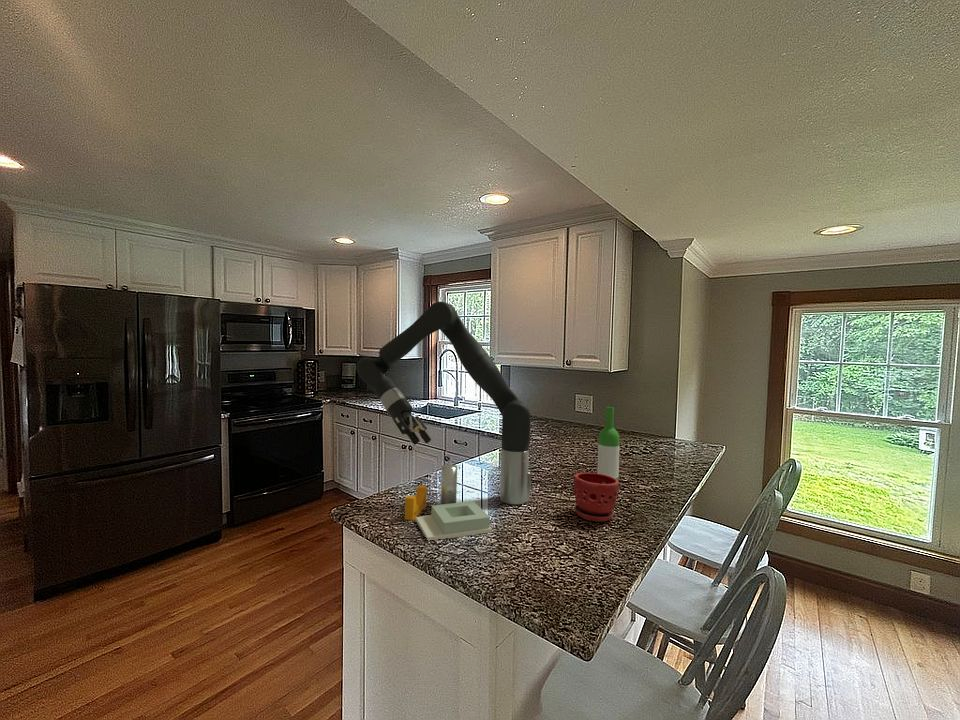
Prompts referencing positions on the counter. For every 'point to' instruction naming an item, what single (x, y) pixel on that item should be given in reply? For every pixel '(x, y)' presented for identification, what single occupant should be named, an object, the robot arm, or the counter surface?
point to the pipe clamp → (415, 503)
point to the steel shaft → (448, 484)
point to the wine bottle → (608, 447)
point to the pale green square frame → (454, 521)
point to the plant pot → (595, 496)
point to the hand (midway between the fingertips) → (423, 442)
